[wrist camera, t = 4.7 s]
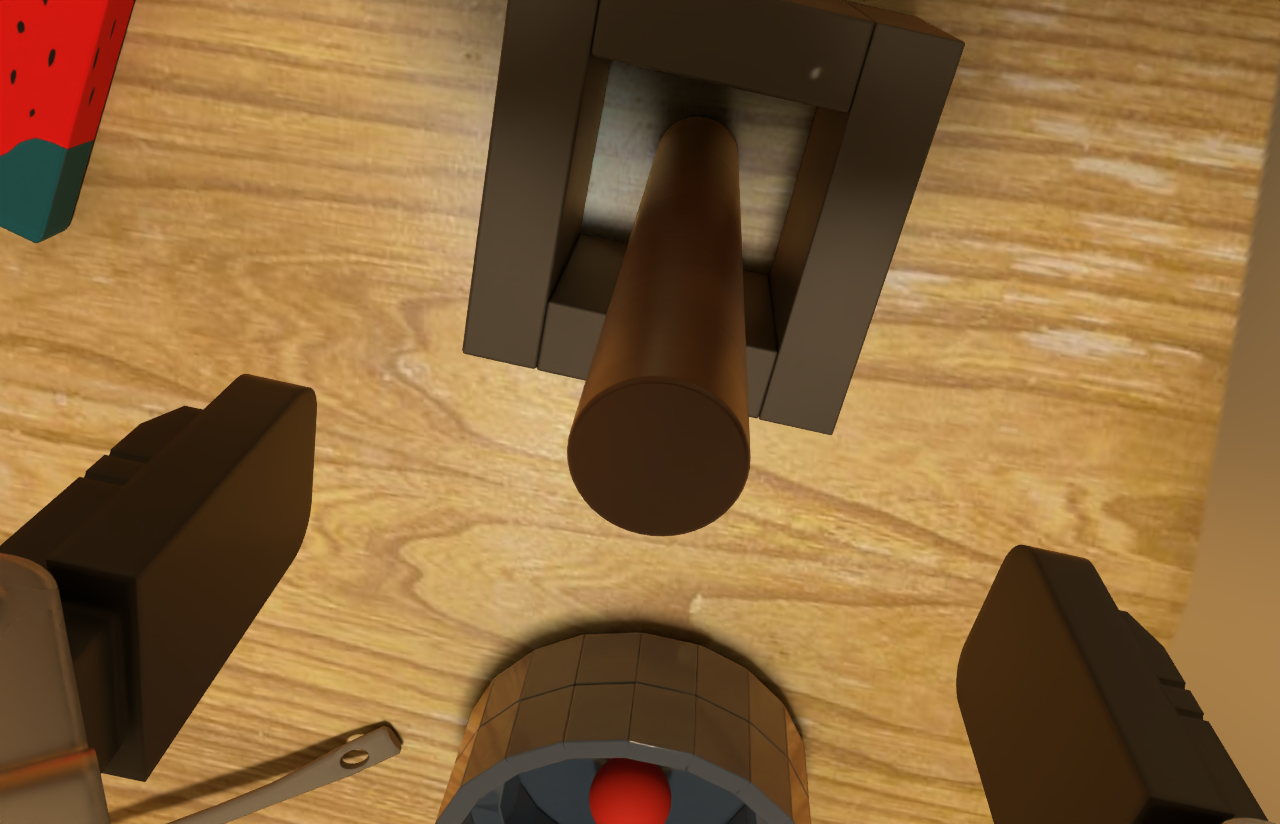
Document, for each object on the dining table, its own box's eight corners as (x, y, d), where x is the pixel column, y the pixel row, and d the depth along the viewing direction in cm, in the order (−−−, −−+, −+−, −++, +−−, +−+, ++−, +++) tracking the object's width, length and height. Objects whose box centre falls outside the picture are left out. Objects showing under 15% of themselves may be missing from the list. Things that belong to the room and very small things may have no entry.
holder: (918, 17, 26) (966, 42, 21) (814, 347, 31) (832, 436, 26) (558, -66, 26) (515, -62, 21) (507, 278, 31) (460, 354, 26)
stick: (747, 126, 28) (771, 401, 12) (726, 206, 29) (725, 555, 13) (666, 107, 28) (583, 359, 12) (649, 188, 29) (552, 517, 13)
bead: (681, 745, 38) (677, 811, 36) (664, 801, 40) (659, 869, 37) (602, 728, 38) (592, 794, 36) (587, 784, 40) (577, 851, 37)
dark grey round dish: (847, 664, 37) (867, 791, 31) (755, 895, 43) (758, 1033, 38) (493, 588, 36) (453, 703, 31) (452, 831, 43) (413, 962, 37)
